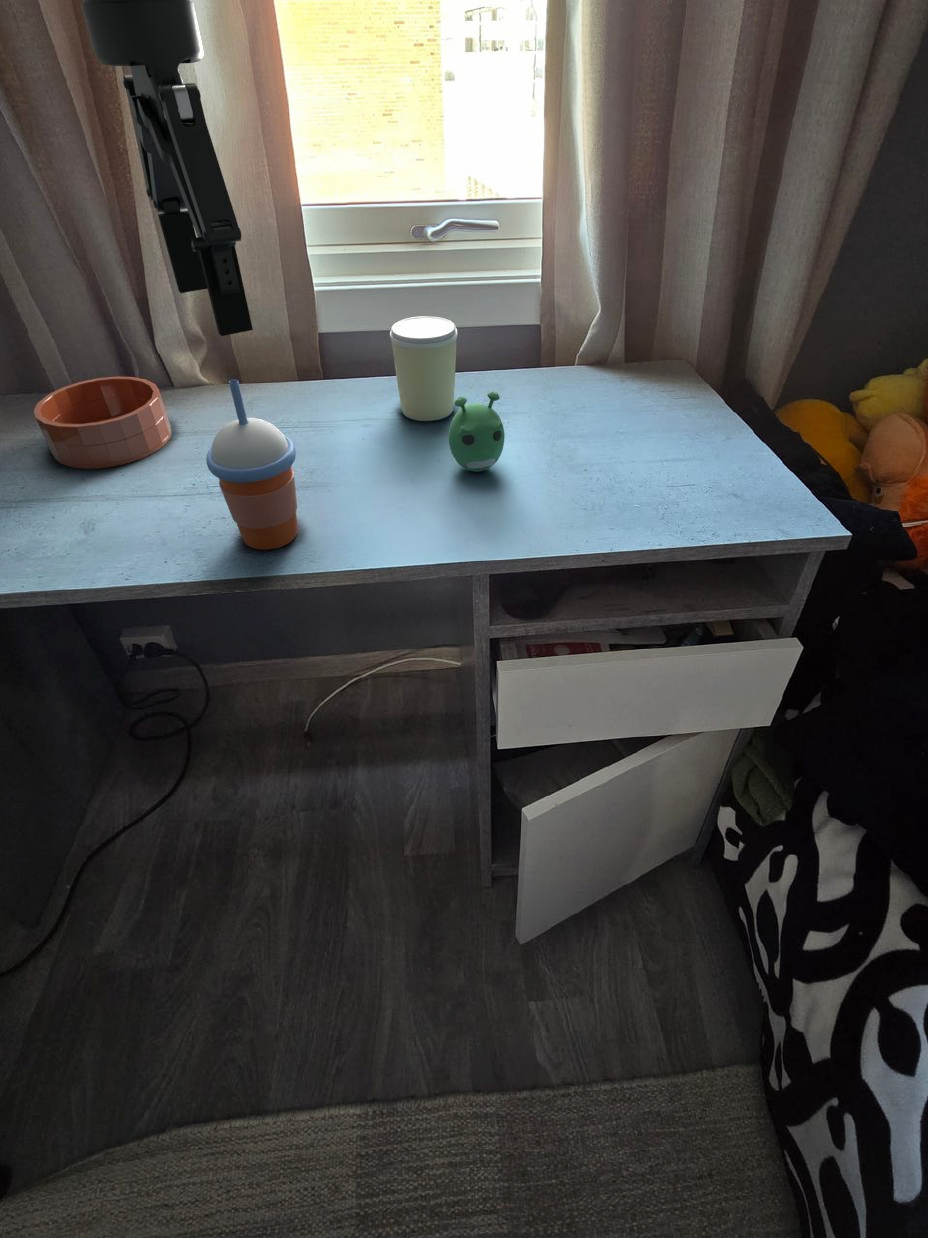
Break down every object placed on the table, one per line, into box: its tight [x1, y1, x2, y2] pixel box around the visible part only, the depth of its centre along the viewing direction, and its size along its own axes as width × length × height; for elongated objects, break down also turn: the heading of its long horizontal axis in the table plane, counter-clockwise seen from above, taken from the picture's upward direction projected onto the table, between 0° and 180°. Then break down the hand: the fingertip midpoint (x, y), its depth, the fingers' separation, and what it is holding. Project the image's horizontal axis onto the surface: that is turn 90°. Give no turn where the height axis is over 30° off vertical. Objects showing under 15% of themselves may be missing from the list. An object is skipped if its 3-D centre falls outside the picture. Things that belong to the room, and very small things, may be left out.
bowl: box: [33, 376, 172, 470], centre depth 94 cm, size 16×16×6 cm
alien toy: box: [448, 391, 505, 472], centre depth 86 cm, size 7×8×10 cm
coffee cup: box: [389, 315, 459, 422], centre depth 98 cm, size 9×9×12 cm
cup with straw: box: [206, 379, 299, 551], centre depth 73 cm, size 9×9×18 cm
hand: (213, 309), depth 62 cm, fingers open, 13 cm apart
